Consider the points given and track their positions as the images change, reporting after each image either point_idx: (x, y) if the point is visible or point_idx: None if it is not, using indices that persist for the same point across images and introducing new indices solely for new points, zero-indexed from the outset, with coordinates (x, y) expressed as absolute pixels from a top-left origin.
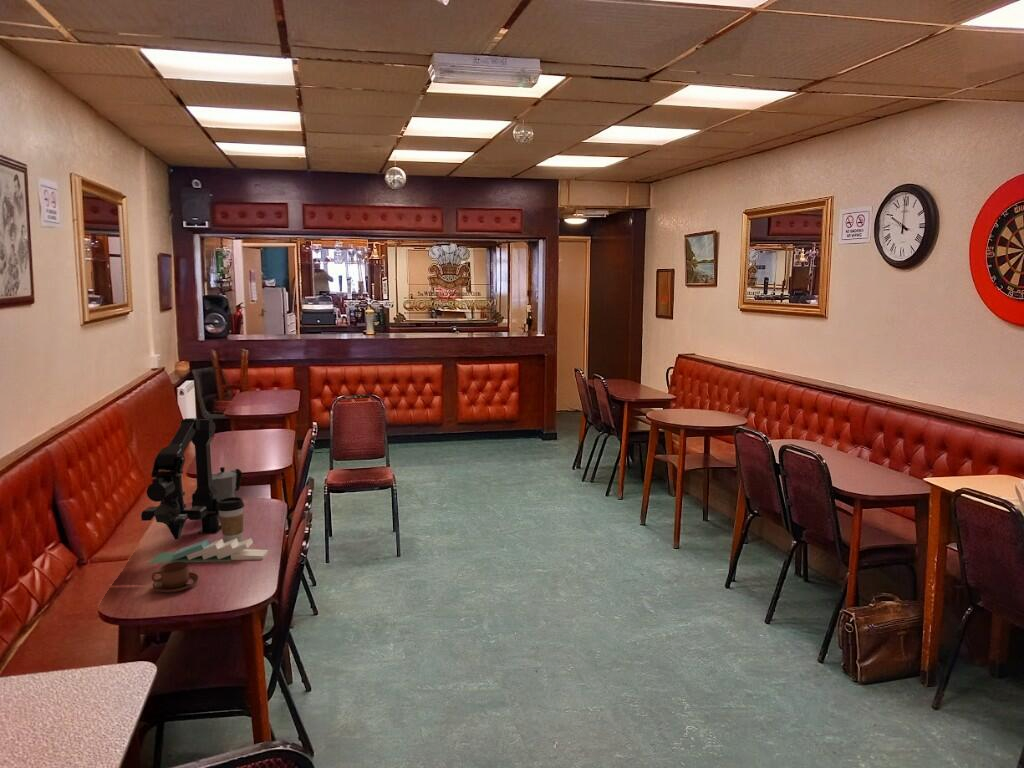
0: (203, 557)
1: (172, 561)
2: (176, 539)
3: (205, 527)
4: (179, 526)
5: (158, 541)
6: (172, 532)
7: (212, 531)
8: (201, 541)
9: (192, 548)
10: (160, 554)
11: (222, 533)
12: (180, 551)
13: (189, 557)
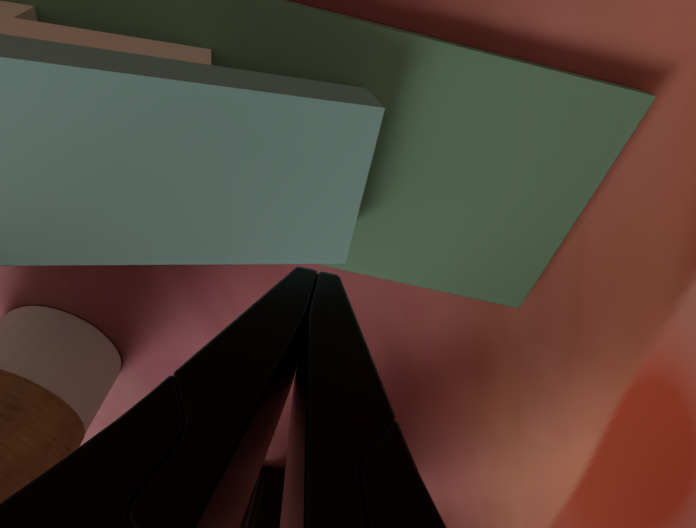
0: (13, 10)
1: (383, 51)
2: (315, 270)
3: (280, 507)
4: (31, 485)
5: (531, 461)
6: (350, 369)
7: (258, 478)
8: (49, 247)
9: (59, 59)
10: (520, 270)
11: (53, 403)
12: (295, 152)
13: (184, 49)
